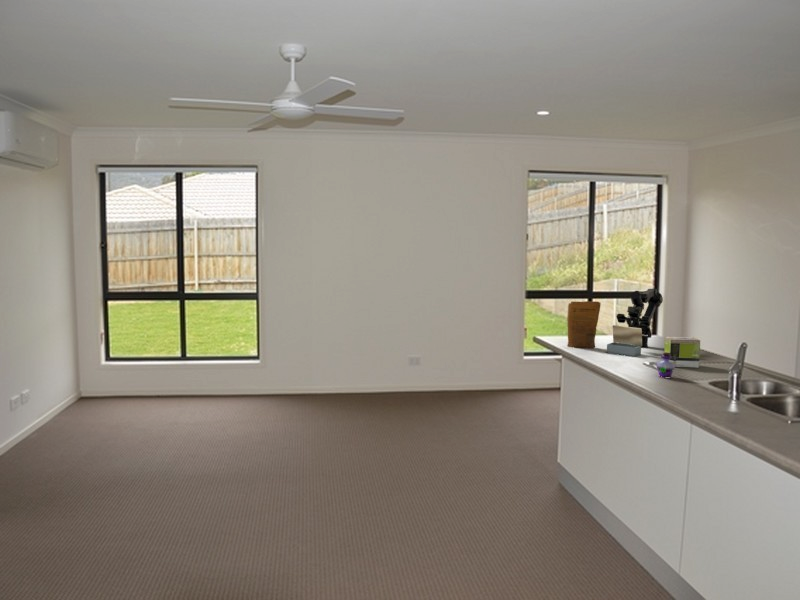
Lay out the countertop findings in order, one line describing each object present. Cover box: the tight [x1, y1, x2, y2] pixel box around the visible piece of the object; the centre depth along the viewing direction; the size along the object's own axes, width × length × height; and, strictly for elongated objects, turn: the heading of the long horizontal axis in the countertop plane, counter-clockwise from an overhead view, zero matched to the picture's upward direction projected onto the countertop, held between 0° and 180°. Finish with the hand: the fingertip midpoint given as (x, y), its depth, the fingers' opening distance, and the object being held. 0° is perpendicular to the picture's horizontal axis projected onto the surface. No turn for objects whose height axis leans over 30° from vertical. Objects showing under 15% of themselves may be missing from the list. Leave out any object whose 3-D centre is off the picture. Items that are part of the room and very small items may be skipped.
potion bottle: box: [655, 351, 676, 378], centre depth 305 cm, size 9×9×12 cm
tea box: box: [663, 336, 701, 369], centre depth 332 cm, size 15×10×15 cm, turn 84°
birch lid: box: [611, 324, 642, 346], centre depth 364 cm, size 10×16×1 cm
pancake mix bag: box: [566, 300, 601, 349], centre depth 377 cm, size 7×19×28 cm, turn 83°
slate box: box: [606, 341, 642, 358], centre depth 362 cm, size 10×16×5 cm, turn 51°
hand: (629, 330), depth 366 cm, fingers closed
